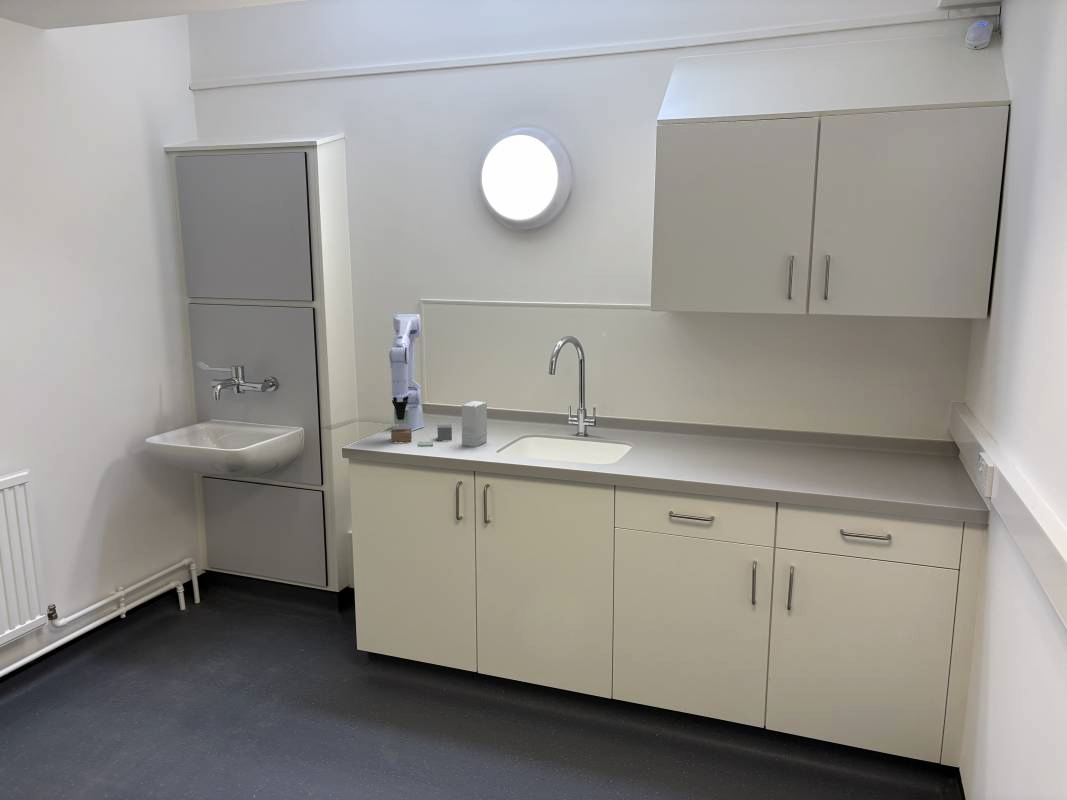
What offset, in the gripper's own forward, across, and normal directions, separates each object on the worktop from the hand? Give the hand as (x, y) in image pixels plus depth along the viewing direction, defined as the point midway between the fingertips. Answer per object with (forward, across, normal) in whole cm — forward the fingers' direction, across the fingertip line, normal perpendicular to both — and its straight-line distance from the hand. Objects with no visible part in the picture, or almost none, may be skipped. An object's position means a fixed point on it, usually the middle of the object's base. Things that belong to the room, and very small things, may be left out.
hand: (400, 418), depth 279 cm
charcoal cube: (+8, 0, -16) cm, 18 cm away
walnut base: (+9, 0, 0) cm, 9 cm away
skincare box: (+8, -9, -26) cm, 28 cm away
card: (+8, -7, -9) cm, 14 cm away
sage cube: (+2, 0, 0) cm, 2 cm away
